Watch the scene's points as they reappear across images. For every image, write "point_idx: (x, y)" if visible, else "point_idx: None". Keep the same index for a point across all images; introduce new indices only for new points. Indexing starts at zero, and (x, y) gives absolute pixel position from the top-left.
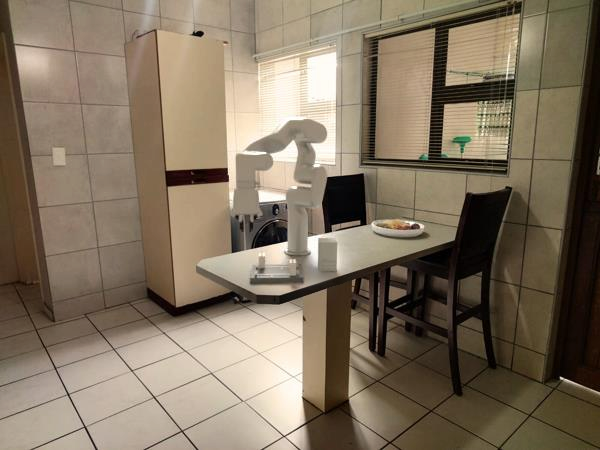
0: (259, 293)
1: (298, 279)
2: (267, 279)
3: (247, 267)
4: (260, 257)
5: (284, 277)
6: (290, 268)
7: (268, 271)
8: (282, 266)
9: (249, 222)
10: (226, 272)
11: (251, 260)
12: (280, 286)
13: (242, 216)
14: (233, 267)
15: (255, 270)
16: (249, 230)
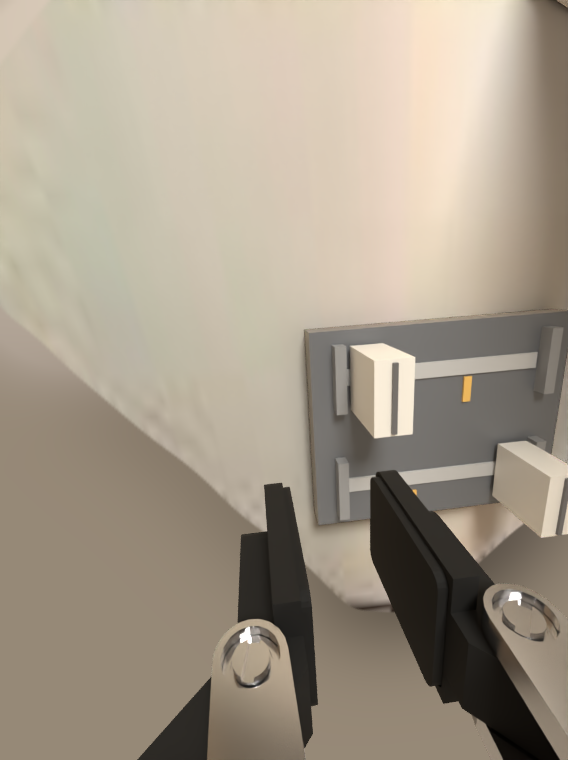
0: (357, 595)
1: None
2: None
3: (271, 295)
4: (382, 433)
5: (466, 505)
6: (521, 517)
7: (398, 436)
8: (473, 360)
9: (435, 685)
10: (173, 386)
11: (276, 141)
12: None
13: (303, 746)
14: (190, 300)
15: (339, 468)
16: (378, 572)
